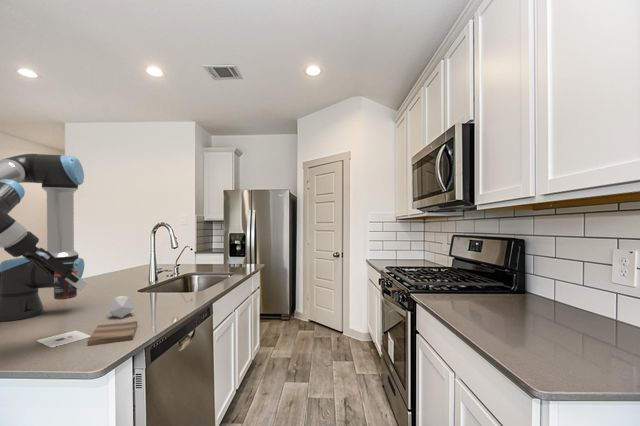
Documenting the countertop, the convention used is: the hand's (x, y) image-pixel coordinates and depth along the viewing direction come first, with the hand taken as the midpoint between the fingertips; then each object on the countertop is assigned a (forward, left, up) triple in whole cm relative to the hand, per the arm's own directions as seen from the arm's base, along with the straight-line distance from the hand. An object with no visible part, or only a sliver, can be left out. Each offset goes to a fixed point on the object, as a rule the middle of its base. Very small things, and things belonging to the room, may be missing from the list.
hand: (78, 285), depth 108 cm
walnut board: (+4, +11, -16) cm, 20 cm away
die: (-19, +10, -17) cm, 27 cm away
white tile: (+2, -3, -16) cm, 17 cm away
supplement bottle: (+2, -3, -3) cm, 5 cm away
